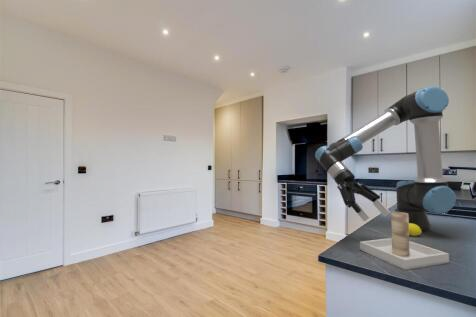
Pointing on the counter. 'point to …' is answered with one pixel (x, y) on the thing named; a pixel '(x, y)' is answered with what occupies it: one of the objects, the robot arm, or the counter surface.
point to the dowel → (400, 234)
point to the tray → (417, 258)
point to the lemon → (414, 230)
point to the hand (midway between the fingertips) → (377, 217)
